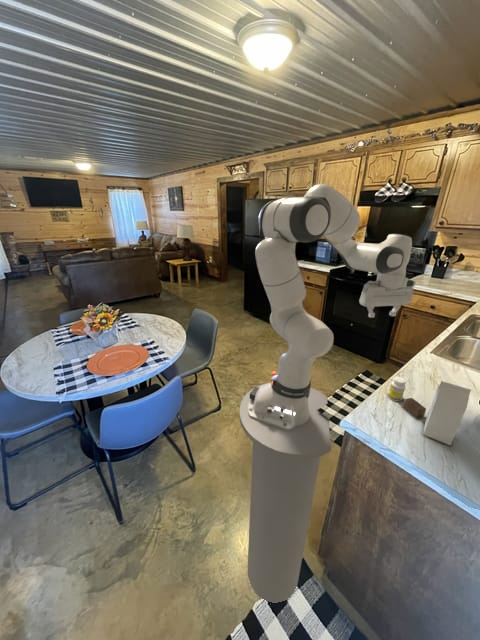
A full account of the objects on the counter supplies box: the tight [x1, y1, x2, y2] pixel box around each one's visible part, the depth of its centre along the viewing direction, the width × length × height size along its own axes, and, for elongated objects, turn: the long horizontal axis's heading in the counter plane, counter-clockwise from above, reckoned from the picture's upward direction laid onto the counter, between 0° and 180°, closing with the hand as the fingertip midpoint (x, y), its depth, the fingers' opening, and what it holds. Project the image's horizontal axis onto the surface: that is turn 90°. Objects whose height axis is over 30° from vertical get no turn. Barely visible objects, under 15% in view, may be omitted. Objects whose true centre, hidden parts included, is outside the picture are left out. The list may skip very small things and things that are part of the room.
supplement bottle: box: [387, 376, 407, 402], centre depth 101 cm, size 5×5×8 cm
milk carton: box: [423, 380, 472, 446], centre depth 82 cm, size 7×7×19 cm
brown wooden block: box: [402, 397, 427, 420], centre depth 94 cm, size 6×3×4 cm, turn 13°
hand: (381, 316), depth 100 cm, fingers open, 8 cm apart
